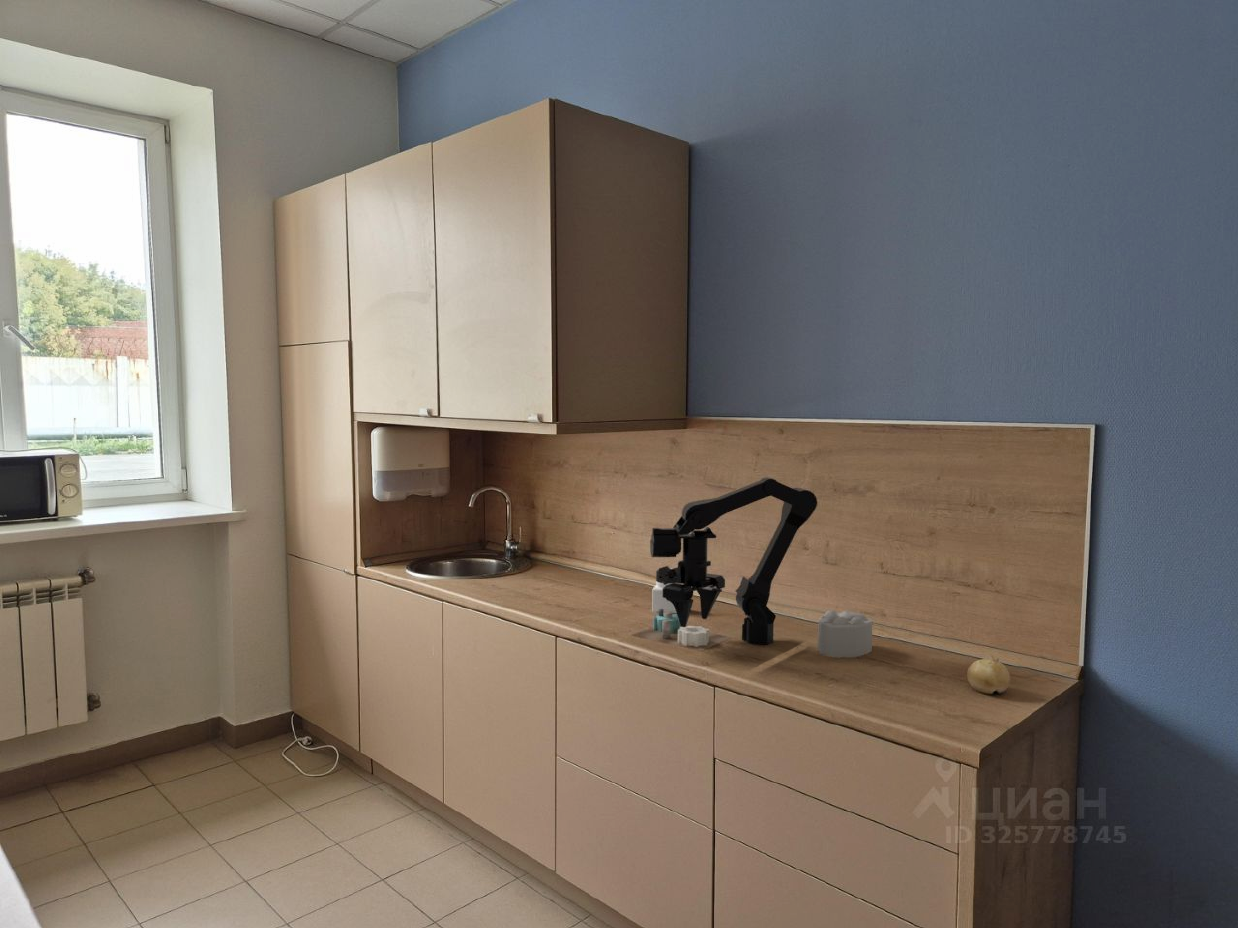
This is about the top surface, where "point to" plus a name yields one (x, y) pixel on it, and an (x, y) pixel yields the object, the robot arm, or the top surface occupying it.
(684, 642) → the off-white gear
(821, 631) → the lumpy-topped squat cylinder
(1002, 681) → the onion
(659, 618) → the teal gear
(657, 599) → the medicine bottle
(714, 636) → the gear board
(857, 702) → the top surface
